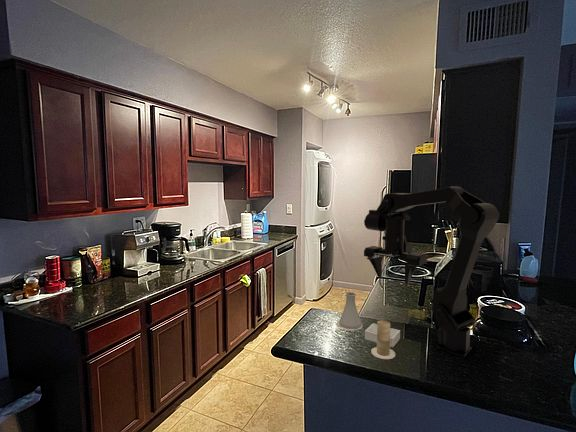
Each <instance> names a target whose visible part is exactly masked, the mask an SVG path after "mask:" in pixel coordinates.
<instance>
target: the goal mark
mask: <svg viewBox="0 0 576 432" xmlns="http://www.w3.org/2000/svg"><path fill="white" fill-rule="evenodd" d="M339 321H340V319H339V320H338V321H336V326H337V327H338V328H340V329H342V330H346V331H357V330H360V329H362V328H363V323H362V322H361V324H362V326H361V327H359V328H357V329H352V328H345V327H343V326H340V325H339Z"/></svg>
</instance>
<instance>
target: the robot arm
mask: <svg viewBox="0 0 576 432" xmlns="http://www.w3.org/2000/svg"><path fill="white" fill-rule="evenodd" d="M441 203H447V204H448V205H449V207H450V209H451V210H452V212H454V213H455V214H456V215H457V216H458V217H459V224H458V225H459V232H460V239H459V242H458V245H457V248H456V252H455V256H454V257H453V258H454V259H453V261H452V264H451V267H450V269H449V270H450V271H449V274H448V276H447V280H446V283H445V285H444V286H442V287H439V288H436V289H434V291H433V295H432V299H431V300H430V301H429V302H430V303H431V311H432V312H433V314H434V318H435V321H436V325H437V327H438V337H437V338H438V341H437V342H438V345H437V349H439V350H442V351H444V352H448V353H449V354H452V355H455V356H457V357H461V358H465V357H466V356H467V355H468V353H469V352H470V351H471V350H472V348H473V347H472V346H470V345H471V343H470V342H471V340H470V339H471V328H470V327H473V326H474V325H475V322H476V318H475V317H474V315H473V314H472V313H471V312H470V310H469V309H468V308H467V305H468V297H467V292H466V291H467V287H468V284H469V282H470V279H471V275H472V273H473V270H474V267H475V265H476V262H477V261H476V260H477V258H478V257H479V252H480V250H481V247H482V244H483V241H484V240H485V239H486V238H487V237H488V235H490V233H491V232H492V231H493V229H494V228H495V225H496V224H497V222H498V221H499V218H500V211H498V209H497V206H495V205H494V204H491V203H487V202H485V201H484V200H482V199H480V198H479V197H478V196H475V195H473V194H471V193H469V192H468V191H466V190H465V189H463V187H461V186H456V185H455V186H454V185H452V186H451V185H450V186H445V187H443V188H437V189H431V190H426V191H425V190H424V191H419V192H413V193H410V192H409V193H408V192H407V193H406V192H395V193H394V192H391V193H390V192H389V193H386V194H384V195H383V197H382V200H381V202H380V204H379V205H378V207H377V209H369V210H368V213H367V214H366V216H365V218H364V220H363V222H364V223H363V224H364V227H365V228H366V229H367V230H370V231H371V230H372V231H377V232H378V231H379V232H384V236H382V241H384V248H383V247H382V246H376V245H372V246H368V247H365V248H364V250H363V256H364V257H366V259H367V260H369V262H370V264H371V265H372V267H373V269H374V271H375V273H376V275H377V277H378V280H381V279H382V277H383V261H384V258H385V257H387V258H392V259H398V260H401V261H402V260H403V261H405V262H406V264H404V284H405V285H406V286H409V284H410V282H411V279H412V277H413V275H414V272H415V271H416V269H417V268H418V267H420V266H423V265H425V264H427V262H428V256H427V255H426V253H424V252H423V253H422V252H417V251H413V252H412V250H413V243H412V242H409V241H407V237H406V235H405V220H406V221H409V220H411V219H412V218H411V216H410V215H408V213H407V212H406V211H407V210H410V209H412V208H414V207H417V206H425V205H433V204H441Z"/></svg>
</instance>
